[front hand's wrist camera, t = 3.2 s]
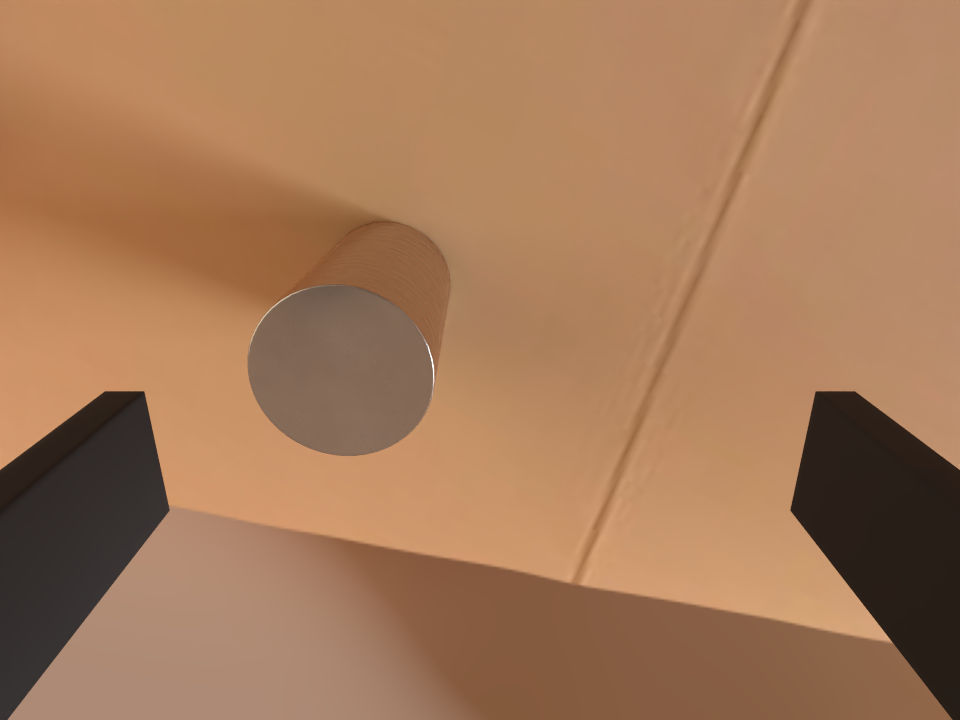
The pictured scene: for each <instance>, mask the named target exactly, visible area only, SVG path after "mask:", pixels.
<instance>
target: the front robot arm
mask: <svg viewBox="0 0 960 720" xmlns="http://www.w3.org/2000/svg"><path fill="white" fill-rule="evenodd" d="M790 511H791V512H792V513H793V514H794V516H795V517H796V518H797V520H798V521H799V522H800V523H801V525H802V526H803V527H804V529H805V530H806V531H807V532H808V534H809V535H810V536H811V538H812V539H813V540H814V541H815V543H816V544H817V545H818V547H819V548H820V549H821V551H822V552H823V553H824V554H825V556H826V557H827V558H828V560H829V561H830V562H831V563H832V565H833V566H834V567H835V569H836V570H837V571H838V572H839V574H840V575H841V576H842V578H843V579H844V580H845V581H846V583H847V584H848V585H849V587H850V588H851V589H852V591H853V592H854V593H855V594H856V596H857V597H858V598H859V600H860V601H861V602H862V603H863V605H864V606H865V607H866V609H867V610H868V611H869V612H870V614H871V615H872V616H873V618H874V619H875V620H876V621H877V623H878V624H879V625H880V627H881V628H882V629H883V630H884V632H885V633H886V634H887V636H888V637H889V638H890V640H891V641H892V642H893V643H894V645H895V646H896V647H897V649H898V650H899V651H900V652H901V654H902V655H903V656H904V658H905V659H906V660H907V661H908V663H909V664H910V665H911V667H912V668H913V669H914V670H915V672H916V673H917V674H918V676H919V677H920V678H921V679H922V681H923V682H924V683H925V685H926V686H927V687H928V689H929V690H930V691H931V692H932V694H933V695H934V696H935V697H936V699H937V700H938V701H939V703H940V704H941V705H942V707H943V708H944V709H945V710H946V712H947V713H948V714H949V716H950V717H951V718H952V719H953V720H960V470H959V469H958V468H956V467H955V466H954V465H952V464H951V463H950V462H948V461H947V460H946V459H944V458H943V457H942V456H940V455H939V454H938V453H936V452H935V451H934V450H932V449H931V448H930V447H928V446H927V445H926V444H924V443H923V442H922V441H920V440H919V439H918V438H916V437H915V436H914V435H912V434H911V433H910V432H908V431H907V430H906V429H904V428H903V427H902V426H900V425H899V424H898V423H896V422H895V421H894V420H892V419H891V418H890V417H888V416H887V415H886V414H884V413H883V412H882V411H880V410H879V409H878V408H876V407H875V406H874V405H872V404H871V403H870V402H868V401H867V400H866V399H864V398H863V397H862V396H860V395H859V394H858V393H856V392H855V391H816V393H815V397H814V402H813V407H812V412H811V416H810V421H809V426H808V430H807V435H806V440H805V444H804V449H803V454H802V458H801V463H800V468H799V472H798V477H797V482H796V487H795V491H794V496H793V501H792V505H791V510H790ZM168 512H169V505H168V501H167V496H166V491H165V487H164V482H163V477H162V472H161V468H160V463H159V458H158V454H157V449H156V444H155V440H154V435H153V430H152V426H151V421H150V416H149V412H148V407H147V402H146V397H145V393H144V391H105V392H104V393H102V394H101V395H100V396H98V397H97V398H96V399H94V400H93V401H92V402H90V403H89V404H88V405H86V406H85V407H84V408H82V409H81V410H80V411H78V412H77V413H76V414H74V415H73V416H72V417H70V418H69V419H68V420H66V421H65V422H64V423H62V424H61V425H60V426H58V427H57V428H56V429H54V430H53V431H52V432H50V433H49V434H48V435H46V436H45V437H44V438H42V439H41V440H40V441H38V442H37V443H36V444H34V445H33V446H32V447H30V448H29V449H28V450H26V451H25V452H24V453H22V454H21V455H20V456H18V457H17V458H16V459H14V460H13V461H12V462H10V463H9V464H8V465H6V466H5V467H4V468H2V469H1V470H0V720H7V719H8V718H9V717H10V716H11V714H12V713H13V712H14V710H15V709H16V708H17V707H18V705H19V704H20V703H21V701H22V700H23V699H24V698H25V696H26V695H27V694H28V692H29V691H30V690H31V688H32V687H33V686H34V685H35V683H36V682H37V681H38V679H39V678H40V677H41V676H42V674H43V673H44V672H45V670H46V669H47V668H48V667H49V665H50V664H51V663H52V661H53V660H54V659H55V658H56V656H57V655H58V654H59V652H60V651H61V650H62V649H63V647H64V646H65V645H66V643H67V642H68V641H69V640H70V638H71V637H72V636H73V634H74V633H75V632H76V630H77V629H78V628H79V627H80V625H81V624H82V623H83V621H84V620H85V619H86V618H87V616H88V615H89V614H90V612H91V611H92V610H93V608H94V607H95V606H96V605H97V603H98V602H99V601H100V599H101V598H102V597H103V596H104V594H105V593H106V592H107V590H108V589H109V588H110V587H111V585H112V584H113V583H114V581H115V580H116V579H117V578H118V576H119V575H120V574H121V572H122V571H123V570H124V569H125V567H126V566H127V565H128V563H129V562H130V561H131V560H132V558H133V557H134V556H135V554H136V553H137V552H138V550H139V549H140V548H141V547H142V545H143V544H144V543H145V541H146V540H147V539H148V538H149V536H150V535H151V534H152V532H153V531H154V530H155V528H156V527H157V526H158V525H159V523H160V522H161V521H162V520H163V518H164V517H165V516H166V514H167V513H168Z"/></svg>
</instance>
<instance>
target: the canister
mask: <svg viewBox="0 0 960 720" xmlns="http://www.w3.org/2000/svg"><path fill="white" fill-rule="evenodd" d="M449 296H450V275H449V271H448V267H447V264H446V262H445V260H444V258H443V256H442V254H441V252H440V251H439V250H438V248H437V247H436V246H435V244H434V243H433V242H432V241H431V240H430V239H429V238H427V237H426V236H425V235H423V234H422V233H421V232H419V231H417V230H415V229H413V228H411V227H409V226H406V225H403V224H399V223H393V222H377V223H371V224H367V225H364V226H362V227H359V228H357V229H355V230H354V231H352V232H350V233H349V234H348V235H347V236H345V237H344V238H343V239H342V240H341V241H340V242H339V243H338V244H337V245H336V246H335V247H334V248H333V249H332V250H331V251H330V252H328V253H327V254H326V255H325V256H324V257H323V258H322V259H321V260H320V261H319V262H318V263H317V264H316V265H315V266H314V267H313V268H312V269H311V270H310V271H309V272H308V273H307V274H306V275H305V276H304V277H302V278H301V279H300V280H299V281H298V282H297V283H296V284H295V285H294V286H293V287H292V288H291V289H290V290H289V291H288V292H287V293H286V294H285V295H284V296H283V297H282V298H281V299H280V300H279V301H278V302H276V303H275V304H274V305H273V306H272V307H271V308H270V309H269V311H268V312H267V313H266V314H265V315H264V316H263V318H262V319H261V321H260V322H259V323H258V325H257V327H256V329H255V331H254V333H253V336H252V339H251V342H250V345H249V352H248V374H249V380H250V384H251V387H252V391H253V393H254V395H255V398H256V400H257V402H258V404H259V405H260V407H261V409H262V410H263V412H264V413H265V415H266V416H267V417H268V418H269V420H270V421H271V422H272V423H273V424H274V425H275V426H276V427H277V428H278V429H279V430H280V431H282V432H283V433H284V434H285V435H287V436H288V437H290V438H291V439H293V440H294V441H296V442H298V443H300V444H302V445H304V446H306V447H308V448H311V449H313V450H316V451H319V452H323V453H327V454H333V455H341V456H356V455H365V454H369V453H374V452H377V451H380V450H383V449H385V448H388V447H390V446H392V445H394V444H395V443H397V442H399V441H400V440H402V439H403V438H404V437H406V436H407V435H408V434H409V433H410V432H411V431H412V430H414V428H415V427H416V426H417V425H418V424H419V422H420V421H421V419H422V418H423V416H424V415H425V413H426V411H427V409H428V407H429V404H430V402H431V398H432V394H433V390H434V384H435V378H436V373H437V367H438V361H439V355H440V349H441V343H442V337H443V332H444V326H445V320H446V314H447V308H448V302H449Z"/></svg>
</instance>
